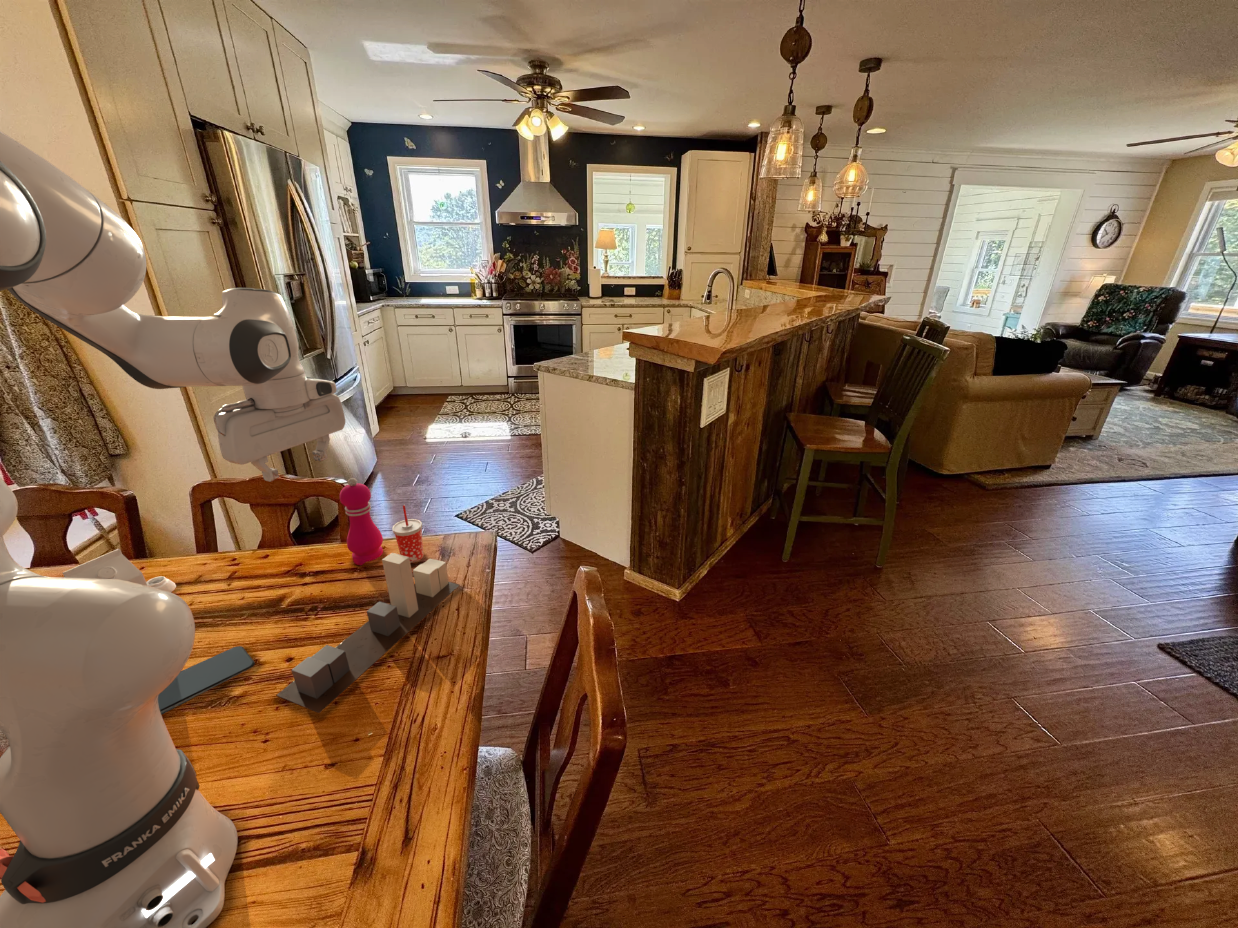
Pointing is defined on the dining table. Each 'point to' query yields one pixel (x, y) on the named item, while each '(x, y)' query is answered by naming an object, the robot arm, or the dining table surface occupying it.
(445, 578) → the cream white block
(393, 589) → the tall white block
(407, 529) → the beverage cup
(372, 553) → the pepper mill
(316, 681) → the dark grey block row
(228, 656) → the smartphone
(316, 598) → the dining table surface
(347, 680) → the shelf plank
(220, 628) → the dining table surface
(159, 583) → the lidless jar
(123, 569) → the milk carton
